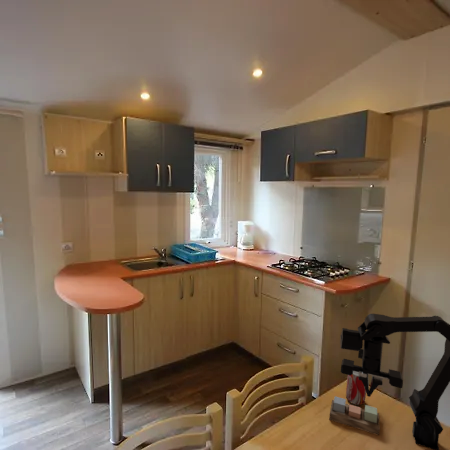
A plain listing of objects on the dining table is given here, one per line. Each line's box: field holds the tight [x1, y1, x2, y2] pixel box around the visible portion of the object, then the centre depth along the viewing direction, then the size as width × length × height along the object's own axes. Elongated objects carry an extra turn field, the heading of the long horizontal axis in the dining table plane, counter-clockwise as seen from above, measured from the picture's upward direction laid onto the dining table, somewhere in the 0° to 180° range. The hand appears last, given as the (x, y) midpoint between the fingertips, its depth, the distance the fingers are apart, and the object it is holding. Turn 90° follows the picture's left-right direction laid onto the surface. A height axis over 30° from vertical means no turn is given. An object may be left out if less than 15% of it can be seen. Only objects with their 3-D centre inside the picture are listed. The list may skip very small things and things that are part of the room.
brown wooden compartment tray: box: [328, 399, 381, 436], centre depth 113 cm, size 16×8×2 cm, turn 66°
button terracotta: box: [348, 403, 361, 419], centre depth 113 cm, size 4×4×3 cm
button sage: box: [364, 404, 378, 423], centre depth 111 cm, size 4×4×3 cm
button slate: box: [333, 395, 347, 413], centre depth 115 cm, size 4×4×3 cm
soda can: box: [345, 371, 367, 406], centre depth 123 cm, size 7×7×12 cm
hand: (368, 395), depth 108 cm, fingers closed
